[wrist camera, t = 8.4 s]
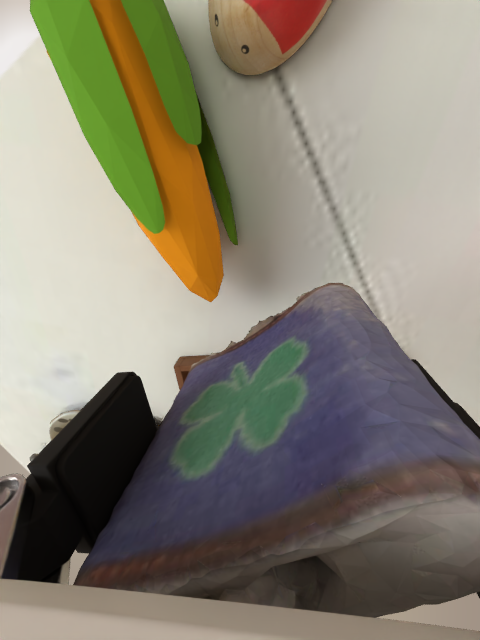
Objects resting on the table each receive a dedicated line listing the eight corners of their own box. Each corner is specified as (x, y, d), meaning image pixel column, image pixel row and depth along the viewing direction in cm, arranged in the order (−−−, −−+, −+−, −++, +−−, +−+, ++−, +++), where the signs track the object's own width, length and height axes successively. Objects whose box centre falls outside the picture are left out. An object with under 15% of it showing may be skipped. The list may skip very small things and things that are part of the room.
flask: (341, 267, 11) (881, 862, 1) (376, 323, 12) (884, 971, 2) (175, 371, 14) (-57, 765, 4) (211, 410, 15) (82, 821, 5)
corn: (62, -229, 9) (257, 305, 16) (163, -48, 16) (270, 272, 22) (-64, -74, 12) (151, 335, 18) (72, 27, 18) (192, 297, 25)
